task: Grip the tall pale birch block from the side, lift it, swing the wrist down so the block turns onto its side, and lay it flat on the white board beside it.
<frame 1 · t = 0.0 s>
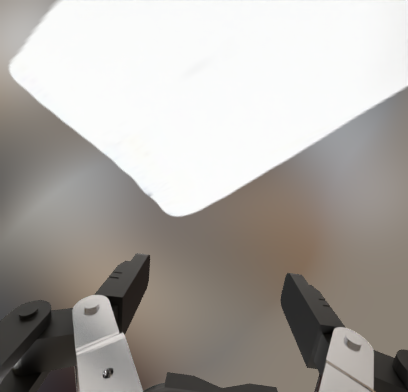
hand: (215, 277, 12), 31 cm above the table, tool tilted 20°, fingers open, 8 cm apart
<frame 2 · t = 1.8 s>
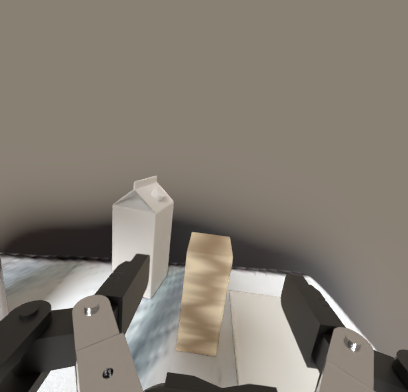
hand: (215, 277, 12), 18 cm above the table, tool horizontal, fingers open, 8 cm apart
milk carton: (141, 282, 37), on the table
birch block: (197, 335, 28), on the table
white board: (269, 342, 29), on the table
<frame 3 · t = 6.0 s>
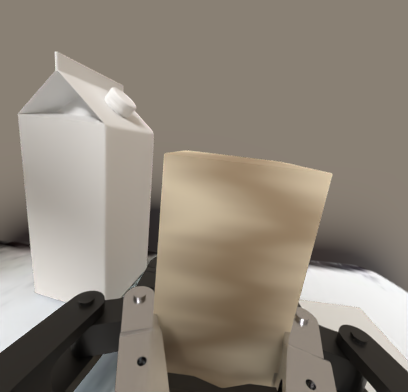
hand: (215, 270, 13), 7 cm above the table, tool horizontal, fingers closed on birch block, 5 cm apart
milk carton: (98, 282, 21), on the table
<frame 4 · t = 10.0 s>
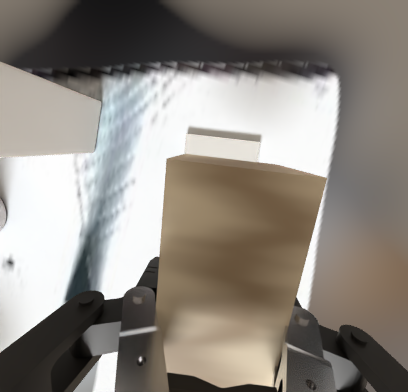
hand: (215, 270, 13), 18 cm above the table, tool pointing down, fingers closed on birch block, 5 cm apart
milk carton: (75, 121, 29), on the table
white board: (215, 197, 30), on the table
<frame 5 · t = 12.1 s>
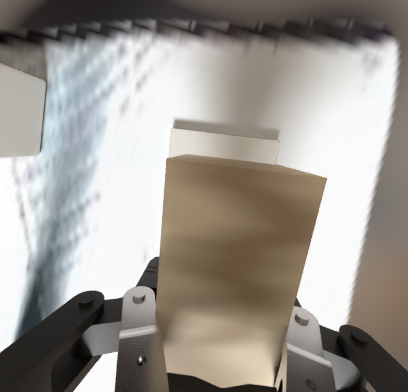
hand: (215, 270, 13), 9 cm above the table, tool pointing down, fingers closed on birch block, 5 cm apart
milk carton: (10, 110, 20), on the table
white board: (213, 218, 22), on the table
when the fingers open (2 cm above the table, at t = 13.9 s): birch block drops 1 cm, resting on white board.
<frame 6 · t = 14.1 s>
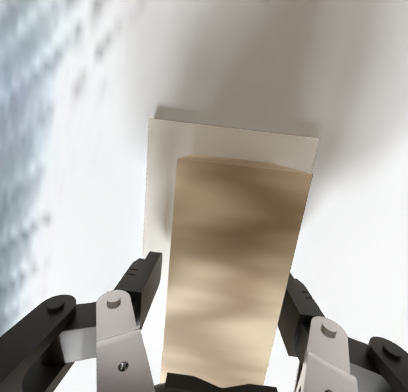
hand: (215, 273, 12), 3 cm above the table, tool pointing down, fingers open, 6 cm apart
birch block: (205, 379, 13), point 3 cm above the table, tilted 90°, touching white board
white board: (215, 252, 15), on the table
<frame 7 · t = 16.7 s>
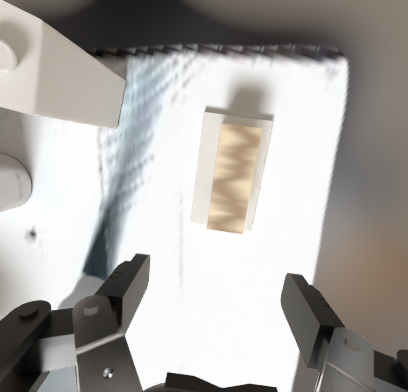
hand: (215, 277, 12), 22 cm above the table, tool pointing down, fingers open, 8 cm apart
milk carton: (100, 99, 31), on the table
birch block: (224, 224, 31), point 3 cm above the table, tilted 90°, touching white board
white board: (228, 174, 32), on the table
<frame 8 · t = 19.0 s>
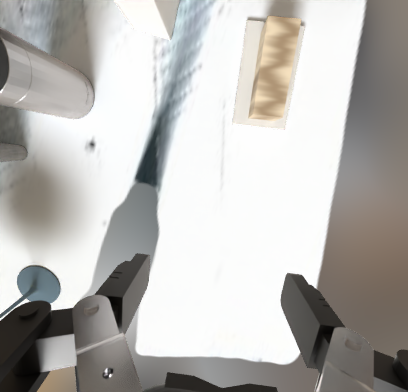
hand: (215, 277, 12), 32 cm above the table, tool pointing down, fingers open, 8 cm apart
milk carton: (156, 13, 37), on the table
birch block: (264, 117, 37), point 3 cm above the table, tilted 90°, touching white board
cocktail glass: (39, 284, 51), on the table
white board: (265, 78, 38), on the table
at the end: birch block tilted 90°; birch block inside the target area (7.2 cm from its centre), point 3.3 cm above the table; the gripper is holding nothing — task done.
